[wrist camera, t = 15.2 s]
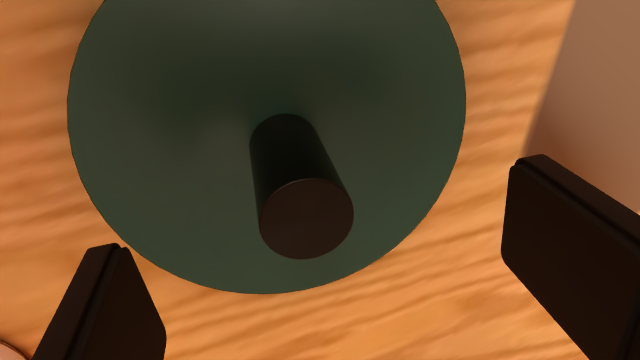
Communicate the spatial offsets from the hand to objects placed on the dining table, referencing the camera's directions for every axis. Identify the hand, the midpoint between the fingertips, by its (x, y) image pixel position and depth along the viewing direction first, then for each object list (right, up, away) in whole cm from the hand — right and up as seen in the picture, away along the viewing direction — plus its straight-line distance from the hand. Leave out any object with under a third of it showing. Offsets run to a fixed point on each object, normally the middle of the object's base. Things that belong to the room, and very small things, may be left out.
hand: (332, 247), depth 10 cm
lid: (-2, +3, +6) cm, 7 cm away
